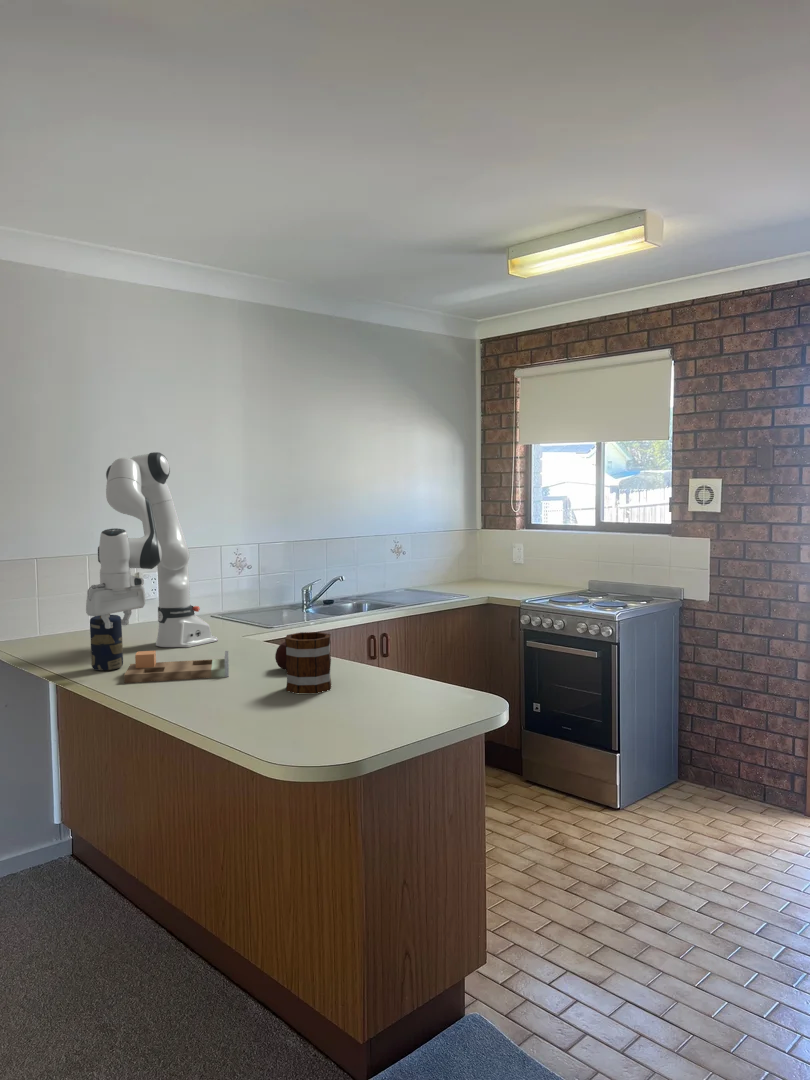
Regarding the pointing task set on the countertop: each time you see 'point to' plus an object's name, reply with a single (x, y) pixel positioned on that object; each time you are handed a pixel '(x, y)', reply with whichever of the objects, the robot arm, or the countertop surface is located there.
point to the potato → (281, 656)
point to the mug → (308, 662)
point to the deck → (176, 671)
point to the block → (145, 659)
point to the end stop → (226, 664)
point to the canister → (106, 643)
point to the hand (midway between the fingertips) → (117, 626)
